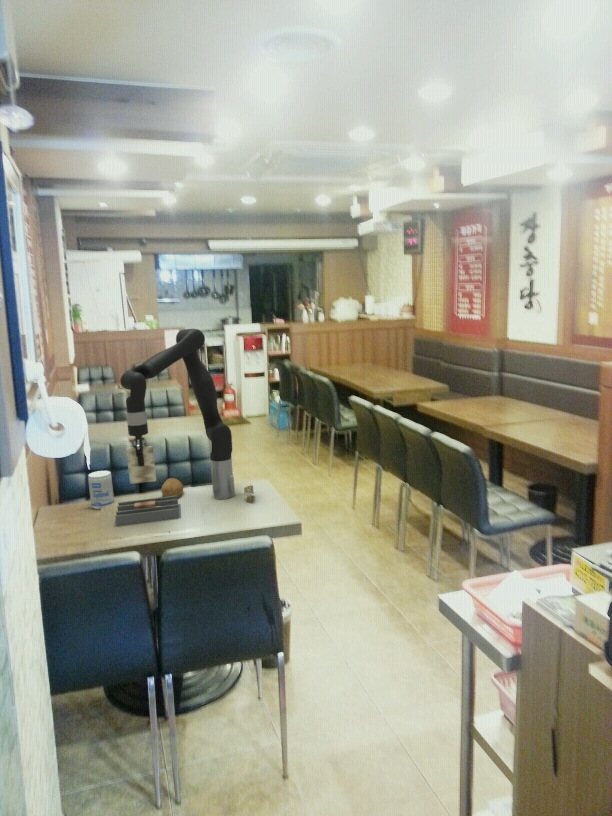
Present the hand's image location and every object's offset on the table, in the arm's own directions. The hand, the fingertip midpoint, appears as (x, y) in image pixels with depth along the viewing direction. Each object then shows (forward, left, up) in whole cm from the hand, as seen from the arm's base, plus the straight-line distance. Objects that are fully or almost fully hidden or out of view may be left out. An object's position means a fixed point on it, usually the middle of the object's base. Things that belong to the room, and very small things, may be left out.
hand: (141, 464), depth 247 cm
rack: (0, -2, -23) cm, 24 cm away
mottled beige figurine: (-43, -10, -24) cm, 50 cm away
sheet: (0, 0, -7) cm, 7 cm away
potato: (-10, -24, -24) cm, 35 cm away
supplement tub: (+20, -25, -24) cm, 39 cm away
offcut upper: (+1, -2, -19) cm, 20 cm away
